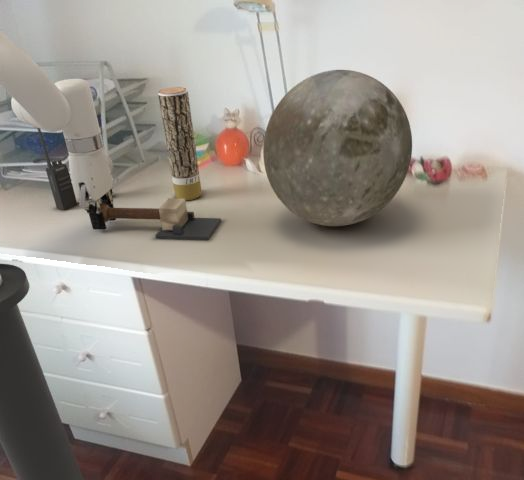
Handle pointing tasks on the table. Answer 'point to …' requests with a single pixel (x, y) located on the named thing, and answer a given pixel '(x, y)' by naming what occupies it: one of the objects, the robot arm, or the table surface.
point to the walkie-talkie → (59, 181)
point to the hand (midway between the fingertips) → (104, 223)
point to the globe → (337, 148)
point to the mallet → (151, 213)
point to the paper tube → (180, 142)
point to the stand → (191, 229)
